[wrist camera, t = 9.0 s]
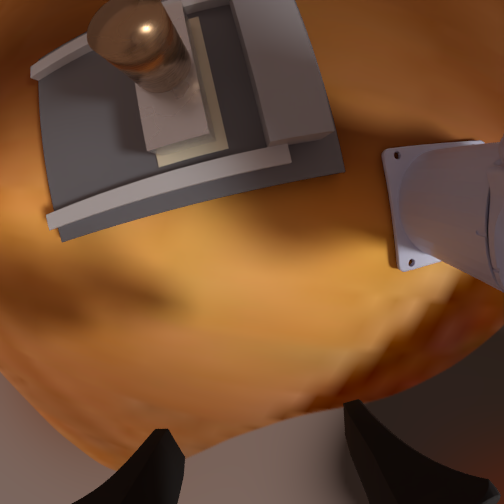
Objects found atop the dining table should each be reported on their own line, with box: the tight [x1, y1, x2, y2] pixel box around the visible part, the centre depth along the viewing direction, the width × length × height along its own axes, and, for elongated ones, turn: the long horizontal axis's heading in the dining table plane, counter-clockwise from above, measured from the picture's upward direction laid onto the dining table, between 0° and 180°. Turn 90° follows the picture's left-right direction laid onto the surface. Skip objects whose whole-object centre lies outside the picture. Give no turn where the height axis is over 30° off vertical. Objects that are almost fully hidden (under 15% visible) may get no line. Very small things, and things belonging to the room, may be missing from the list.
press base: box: [30, 0, 345, 242], centre depth 14 cm, size 18×14×4 cm
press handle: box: [87, 0, 216, 156], centre depth 10 cm, size 3×8×8 cm, turn 13°
